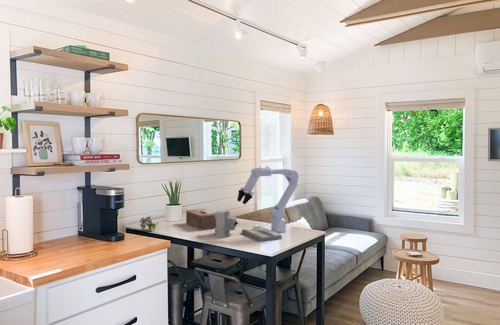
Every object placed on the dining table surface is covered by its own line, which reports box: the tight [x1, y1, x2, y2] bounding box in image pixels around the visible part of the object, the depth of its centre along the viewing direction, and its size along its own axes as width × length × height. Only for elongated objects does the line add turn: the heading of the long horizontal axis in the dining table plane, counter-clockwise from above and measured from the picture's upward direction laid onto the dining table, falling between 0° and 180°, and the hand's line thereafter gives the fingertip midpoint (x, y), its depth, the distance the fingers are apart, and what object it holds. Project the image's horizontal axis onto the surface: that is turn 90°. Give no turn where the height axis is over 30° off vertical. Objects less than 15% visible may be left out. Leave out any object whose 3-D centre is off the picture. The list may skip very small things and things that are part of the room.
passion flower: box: [139, 215, 159, 233], centre depth 263 cm, size 11×11×12 cm
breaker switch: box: [252, 224, 261, 231], centre depth 257 cm, size 3×4×4 cm
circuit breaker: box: [214, 209, 239, 237], centre depth 255 cm, size 8×14×15 cm, turn 78°
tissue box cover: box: [185, 208, 216, 231], centre depth 280 cm, size 26×14×10 cm, turn 33°
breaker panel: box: [241, 226, 283, 243], centre depth 252 cm, size 16×24×3 cm, turn 30°
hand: (241, 202), depth 256 cm, fingers open, 7 cm apart
